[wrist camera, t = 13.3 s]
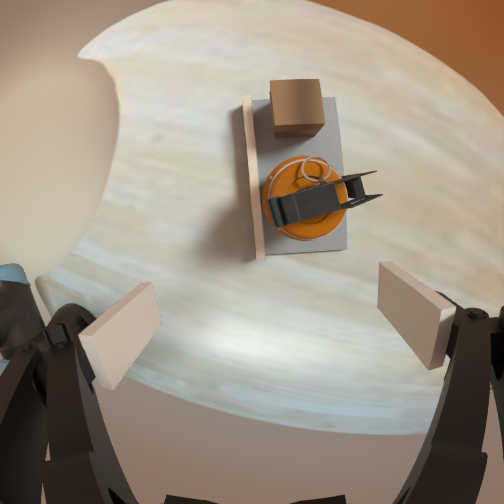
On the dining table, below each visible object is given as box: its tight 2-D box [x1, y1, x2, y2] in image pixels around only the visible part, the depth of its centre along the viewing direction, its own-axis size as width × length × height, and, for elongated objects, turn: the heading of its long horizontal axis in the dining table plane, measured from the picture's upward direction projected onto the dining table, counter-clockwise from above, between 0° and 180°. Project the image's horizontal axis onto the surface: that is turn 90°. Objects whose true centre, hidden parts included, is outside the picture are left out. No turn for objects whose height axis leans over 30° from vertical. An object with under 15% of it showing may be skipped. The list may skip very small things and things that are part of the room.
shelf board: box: [242, 95, 347, 260], centre depth 39 cm, size 14×24×4 cm, turn 5°
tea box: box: [270, 79, 325, 139], centre depth 33 cm, size 6×6×9 cm
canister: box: [262, 156, 383, 241], centre depth 30 cm, size 9×11×20 cm
